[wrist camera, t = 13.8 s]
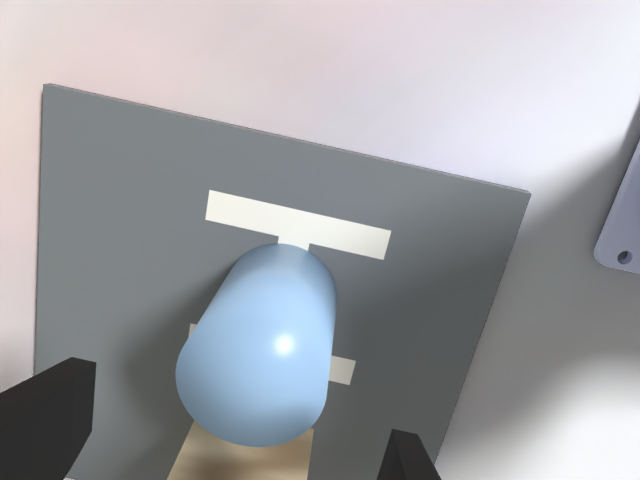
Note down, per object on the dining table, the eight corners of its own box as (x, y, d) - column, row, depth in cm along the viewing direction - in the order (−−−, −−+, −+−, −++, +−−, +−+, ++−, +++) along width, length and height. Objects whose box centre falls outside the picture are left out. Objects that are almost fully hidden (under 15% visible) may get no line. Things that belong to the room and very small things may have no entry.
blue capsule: (346, 254, 20) (339, 331, 15) (327, 355, 22) (314, 459, 16) (231, 234, 21) (181, 302, 15) (220, 335, 22) (170, 432, 16)
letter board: (527, 190, 20) (531, 194, 19) (401, 545, 26) (402, 554, 25) (50, 83, 20) (43, 84, 19) (38, 461, 26) (31, 469, 25)
